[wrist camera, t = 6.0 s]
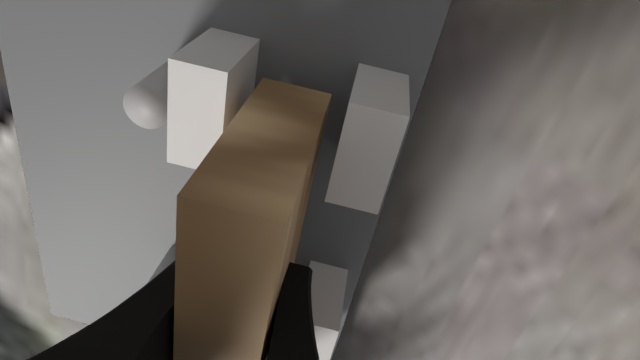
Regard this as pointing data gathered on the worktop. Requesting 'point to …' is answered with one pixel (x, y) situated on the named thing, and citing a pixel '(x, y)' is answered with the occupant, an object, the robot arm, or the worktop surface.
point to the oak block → (245, 223)
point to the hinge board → (201, 127)
